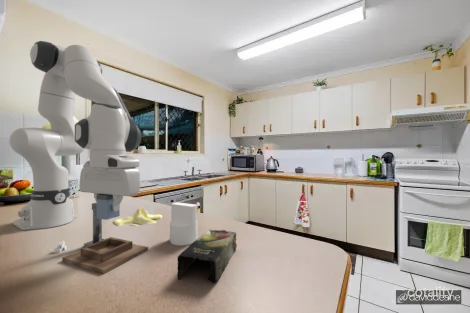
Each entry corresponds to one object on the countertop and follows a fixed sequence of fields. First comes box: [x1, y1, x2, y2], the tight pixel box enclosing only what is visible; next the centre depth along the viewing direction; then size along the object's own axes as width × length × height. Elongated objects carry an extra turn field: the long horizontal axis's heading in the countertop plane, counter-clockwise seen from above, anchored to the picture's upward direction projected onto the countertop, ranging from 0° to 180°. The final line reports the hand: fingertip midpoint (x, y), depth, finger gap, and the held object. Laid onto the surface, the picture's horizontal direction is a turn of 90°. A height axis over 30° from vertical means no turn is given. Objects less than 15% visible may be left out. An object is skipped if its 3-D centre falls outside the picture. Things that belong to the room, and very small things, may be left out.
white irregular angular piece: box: [52, 240, 68, 254], centre depth 64 cm, size 3×3×3 cm
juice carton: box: [176, 229, 238, 283], centre depth 58 cm, size 20×10×6 cm, turn 166°
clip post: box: [83, 202, 106, 247], centre depth 68 cm, size 5×5×13 cm
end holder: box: [61, 236, 149, 275], centre depth 61 cm, size 16×14×3 cm
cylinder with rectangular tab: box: [169, 201, 199, 246], centre depth 72 cm, size 9×9×12 cm
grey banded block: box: [97, 194, 121, 221], centre depth 61 cm, size 4×4×6 cm
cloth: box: [112, 207, 163, 227], centre depth 94 cm, size 22×19×6 cm
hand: (108, 209), depth 61 cm, fingers closed on grey banded block, 4 cm apart
